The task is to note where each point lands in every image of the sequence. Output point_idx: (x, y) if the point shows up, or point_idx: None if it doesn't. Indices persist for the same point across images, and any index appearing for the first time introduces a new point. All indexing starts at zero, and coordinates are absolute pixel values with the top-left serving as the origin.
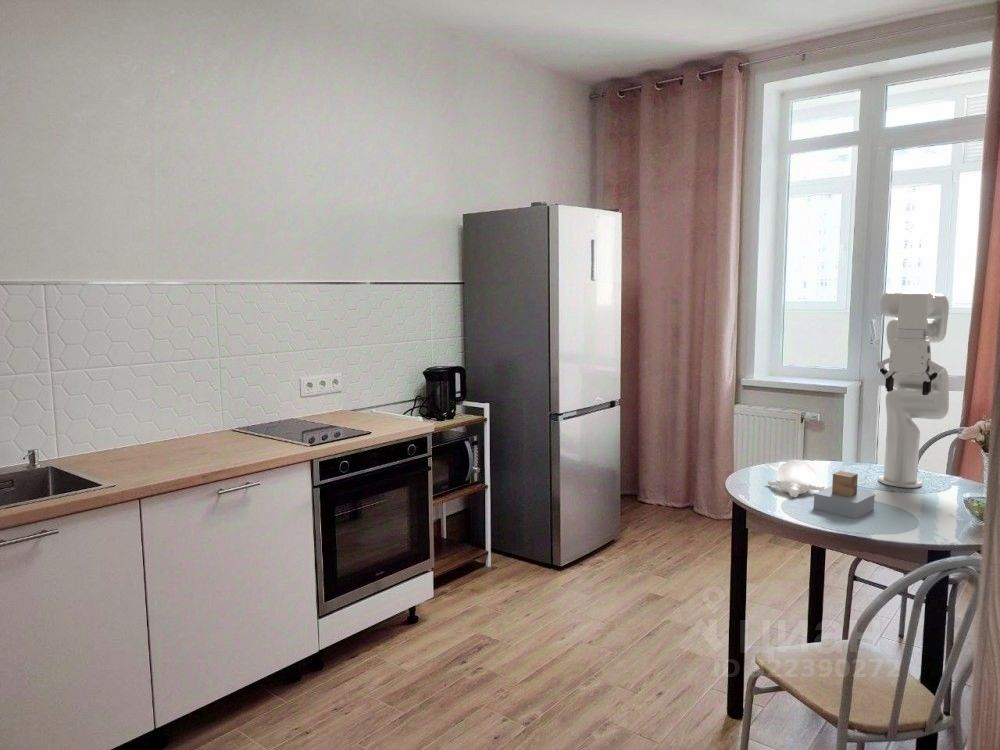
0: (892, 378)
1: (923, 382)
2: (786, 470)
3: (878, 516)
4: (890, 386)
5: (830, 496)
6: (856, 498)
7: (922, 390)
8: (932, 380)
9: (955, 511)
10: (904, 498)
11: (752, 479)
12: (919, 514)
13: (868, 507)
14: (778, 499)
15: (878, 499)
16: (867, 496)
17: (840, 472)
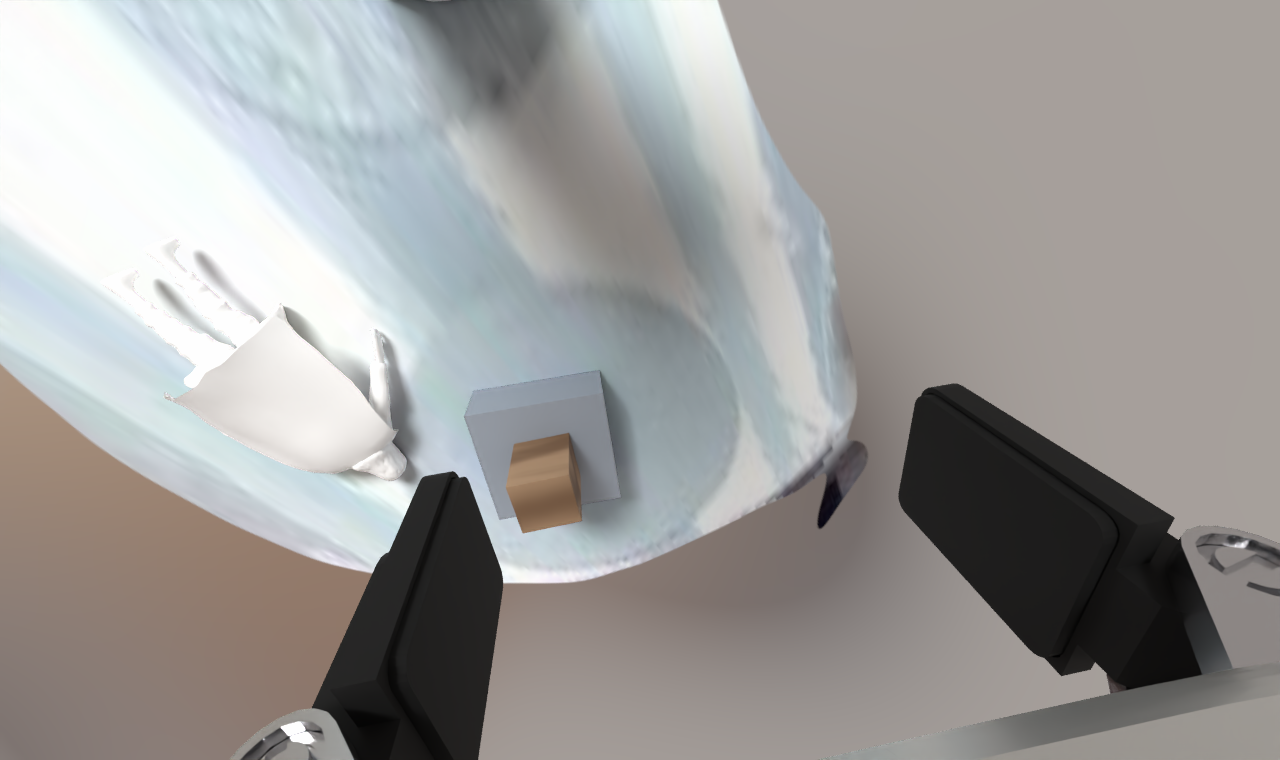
0: (431, 718)
1: (1043, 654)
2: (249, 433)
3: (639, 409)
4: (483, 612)
5: None
6: (596, 467)
7: (935, 543)
8: (1241, 537)
9: (761, 167)
10: (584, 159)
11: (141, 414)
12: (700, 300)
13: (606, 412)
14: (395, 503)
15: (541, 256)
16: (602, 427)
17: (523, 504)
